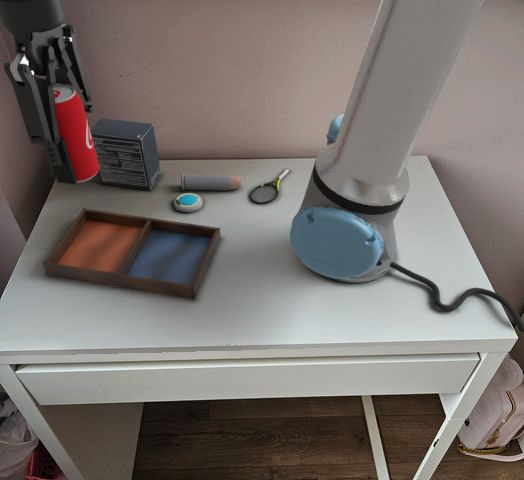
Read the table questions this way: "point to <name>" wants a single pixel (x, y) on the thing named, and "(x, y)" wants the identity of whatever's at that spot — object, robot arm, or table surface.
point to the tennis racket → (271, 187)
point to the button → (188, 202)
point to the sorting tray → (135, 253)
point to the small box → (126, 153)
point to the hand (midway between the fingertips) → (78, 168)
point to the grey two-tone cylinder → (210, 182)
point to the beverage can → (75, 132)
